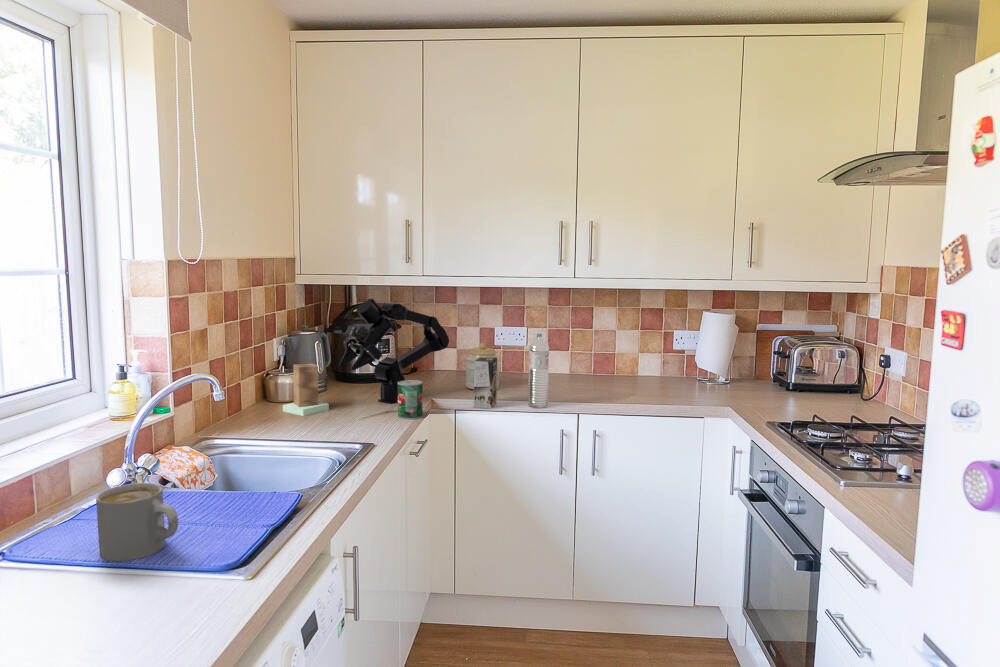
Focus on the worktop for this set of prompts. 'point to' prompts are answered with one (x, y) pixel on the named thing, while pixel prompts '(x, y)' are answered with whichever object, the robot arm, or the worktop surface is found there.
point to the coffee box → (485, 382)
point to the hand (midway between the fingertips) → (346, 367)
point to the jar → (473, 356)
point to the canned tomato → (410, 399)
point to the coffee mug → (133, 521)
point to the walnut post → (305, 384)
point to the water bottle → (538, 373)
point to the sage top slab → (305, 408)
